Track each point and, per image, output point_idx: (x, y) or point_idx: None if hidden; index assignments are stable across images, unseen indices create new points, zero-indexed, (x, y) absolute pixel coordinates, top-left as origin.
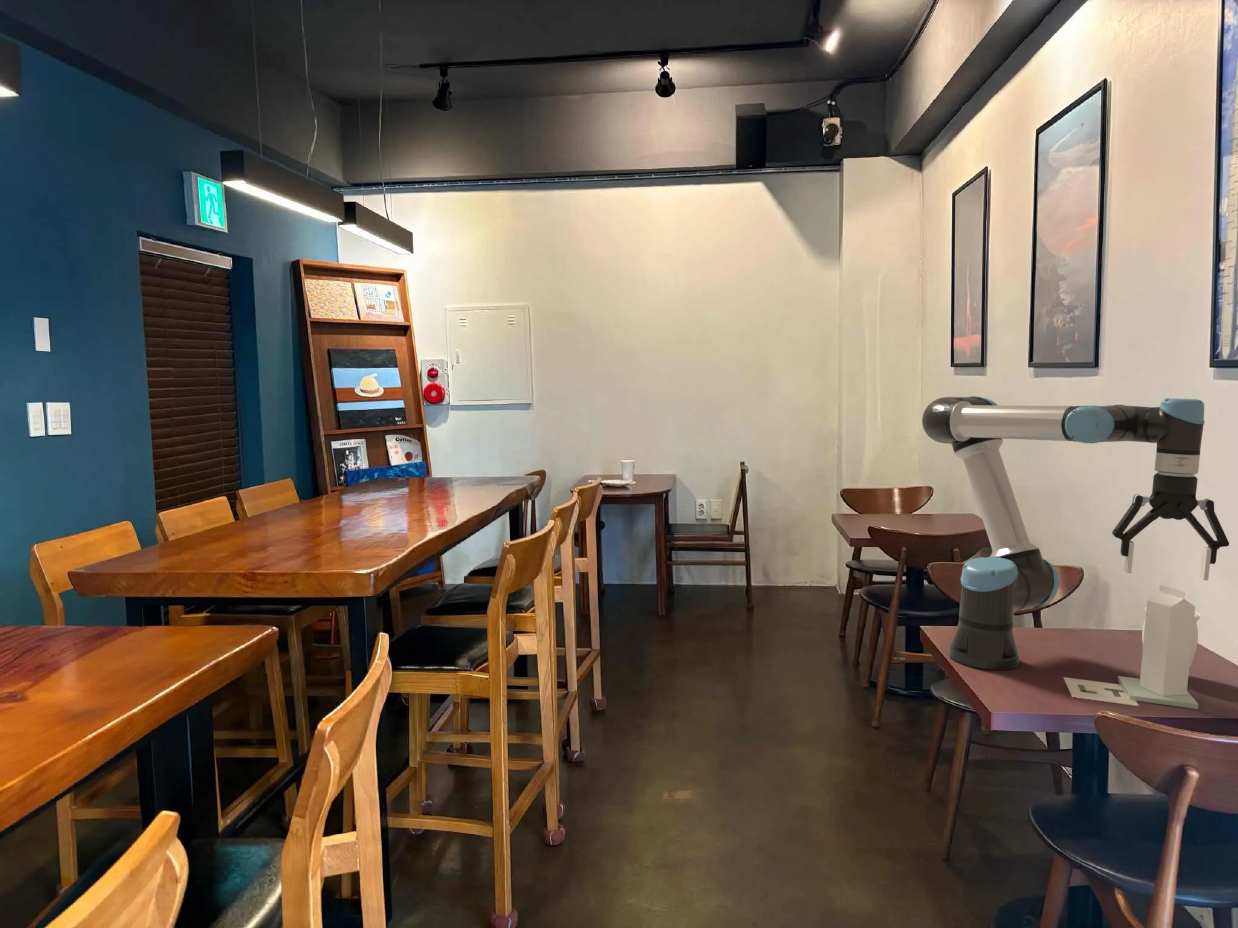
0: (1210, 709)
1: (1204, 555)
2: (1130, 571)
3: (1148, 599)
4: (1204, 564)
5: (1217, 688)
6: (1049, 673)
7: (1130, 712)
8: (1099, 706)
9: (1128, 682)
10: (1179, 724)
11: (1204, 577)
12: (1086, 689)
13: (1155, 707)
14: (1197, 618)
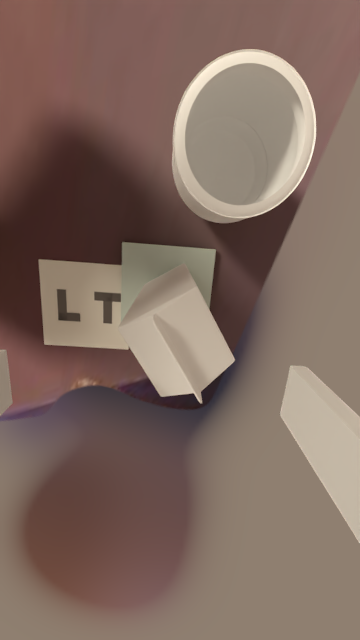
0: (222, 330)
1: (347, 478)
2: (4, 406)
3: (120, 328)
4: (314, 453)
5: (274, 227)
6: (17, 243)
7: (112, 375)
8: (76, 367)
9: (132, 271)
10: None
11: (285, 422)
12: (67, 307)
13: None
14: (289, 193)
